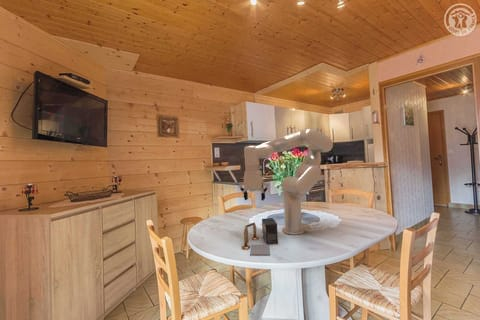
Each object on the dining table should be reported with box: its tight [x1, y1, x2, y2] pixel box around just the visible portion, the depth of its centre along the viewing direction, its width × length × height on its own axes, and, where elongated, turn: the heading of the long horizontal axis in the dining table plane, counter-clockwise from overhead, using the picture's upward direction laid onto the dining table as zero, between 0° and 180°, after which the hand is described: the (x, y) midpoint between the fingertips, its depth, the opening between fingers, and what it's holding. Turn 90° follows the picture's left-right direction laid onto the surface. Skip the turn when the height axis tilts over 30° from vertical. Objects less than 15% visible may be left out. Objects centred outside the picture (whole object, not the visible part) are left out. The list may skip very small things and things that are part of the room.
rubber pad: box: [249, 244, 271, 257], centre depth 108 cm, size 9×11×1 cm
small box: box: [261, 217, 279, 245], centre depth 120 cm, size 11×6×10 cm, turn 5°
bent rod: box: [241, 222, 260, 251], centre depth 118 cm, size 5×17×9 cm, turn 156°
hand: (254, 199), depth 124 cm, fingers open, 9 cm apart
